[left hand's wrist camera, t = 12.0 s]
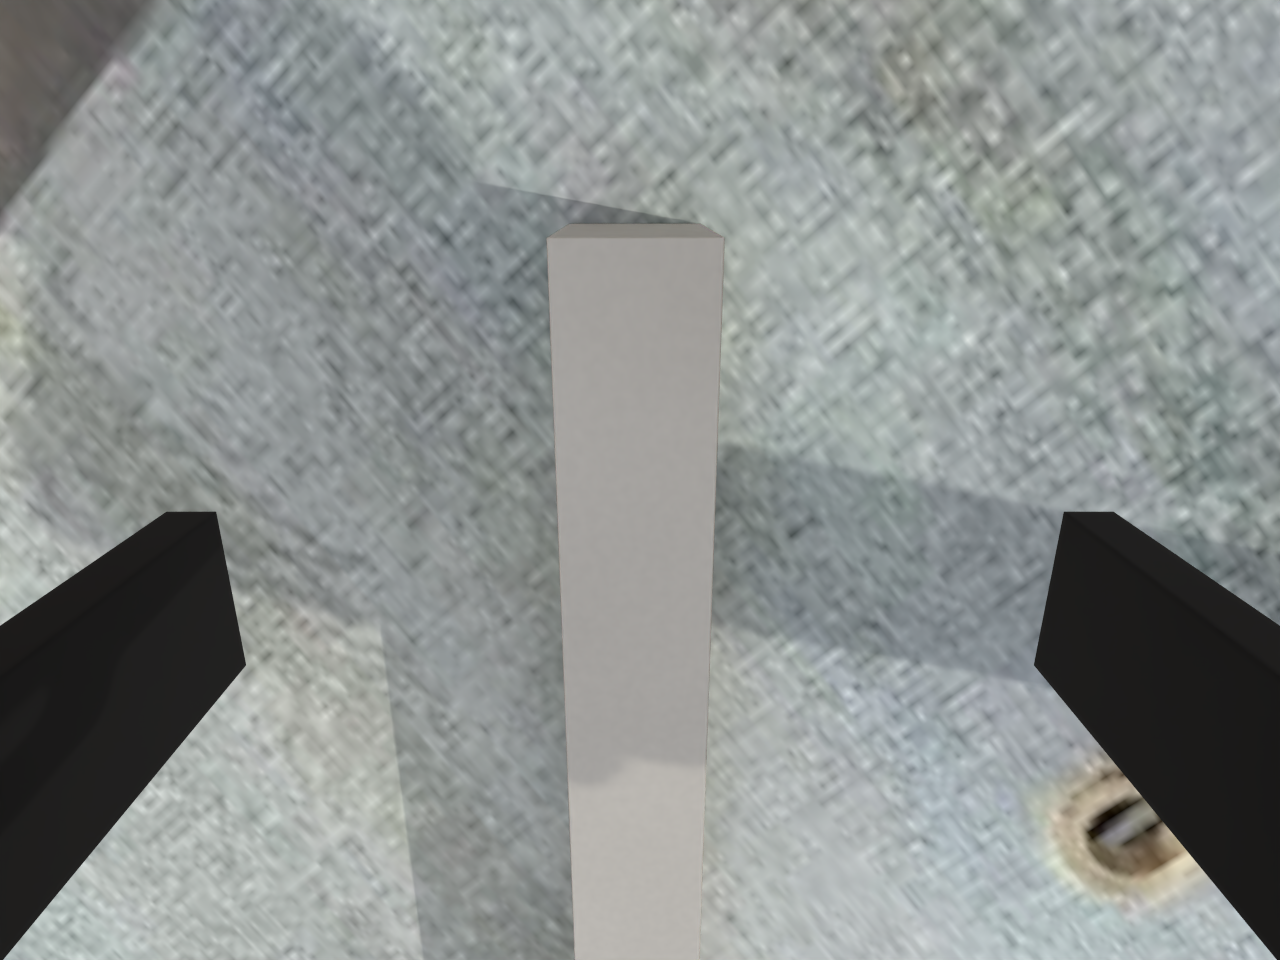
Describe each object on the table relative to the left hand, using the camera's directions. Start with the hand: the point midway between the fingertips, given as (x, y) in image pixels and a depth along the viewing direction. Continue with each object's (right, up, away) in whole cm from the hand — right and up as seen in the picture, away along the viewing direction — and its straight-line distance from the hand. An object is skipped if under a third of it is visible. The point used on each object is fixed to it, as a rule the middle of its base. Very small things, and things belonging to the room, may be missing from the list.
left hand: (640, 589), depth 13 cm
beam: (0, -20, +29) cm, 36 cm away
